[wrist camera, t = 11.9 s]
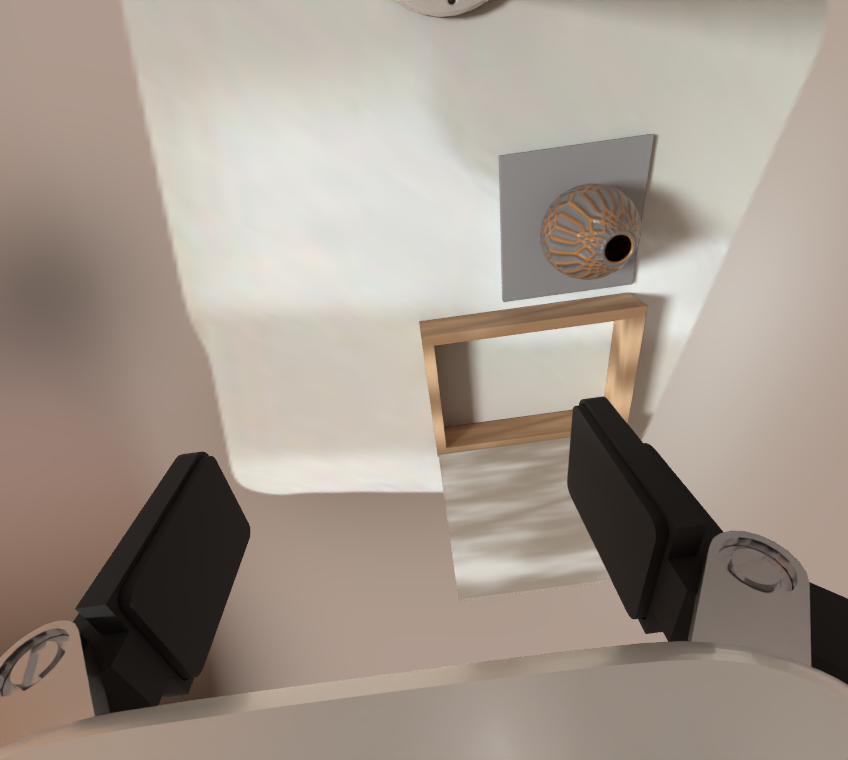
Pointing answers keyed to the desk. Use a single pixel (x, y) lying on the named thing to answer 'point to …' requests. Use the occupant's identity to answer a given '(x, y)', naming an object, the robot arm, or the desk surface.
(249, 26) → the desk surface
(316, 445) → the desk surface
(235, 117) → the desk surface
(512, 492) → the frame
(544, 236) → the vase
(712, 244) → the desk surface
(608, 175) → the mat
